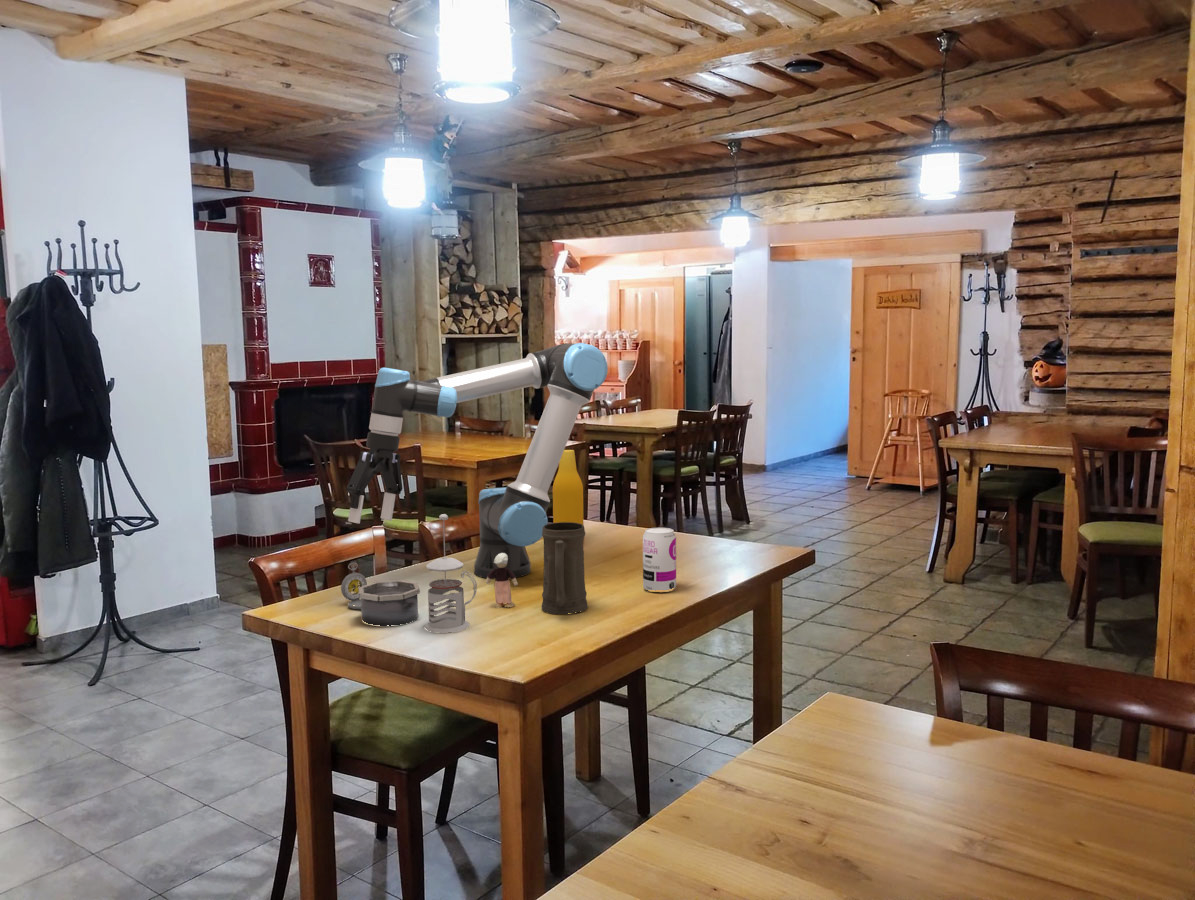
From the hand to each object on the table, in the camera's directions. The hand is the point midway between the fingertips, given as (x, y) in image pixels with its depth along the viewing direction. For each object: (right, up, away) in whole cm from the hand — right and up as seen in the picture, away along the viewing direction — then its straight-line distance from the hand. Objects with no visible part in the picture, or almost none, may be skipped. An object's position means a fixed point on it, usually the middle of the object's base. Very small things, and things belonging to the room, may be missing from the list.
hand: (370, 521), depth 227 cm
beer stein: (+47, -20, -8) cm, 52 cm away
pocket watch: (-2, -20, -1) cm, 20 cm away
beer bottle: (+46, -12, +61) cm, 77 cm away
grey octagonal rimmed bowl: (+7, -21, -12) cm, 25 cm away
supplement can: (+70, -18, +10) cm, 73 cm away
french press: (+22, -22, -18) cm, 36 cm away
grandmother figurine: (+32, -20, -3) cm, 38 cm away
